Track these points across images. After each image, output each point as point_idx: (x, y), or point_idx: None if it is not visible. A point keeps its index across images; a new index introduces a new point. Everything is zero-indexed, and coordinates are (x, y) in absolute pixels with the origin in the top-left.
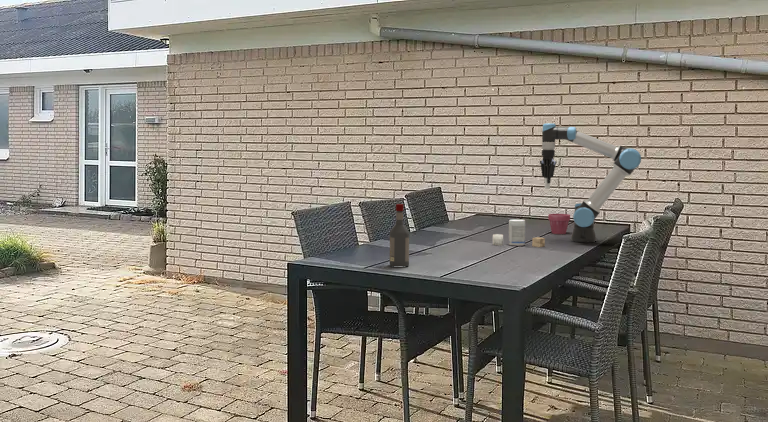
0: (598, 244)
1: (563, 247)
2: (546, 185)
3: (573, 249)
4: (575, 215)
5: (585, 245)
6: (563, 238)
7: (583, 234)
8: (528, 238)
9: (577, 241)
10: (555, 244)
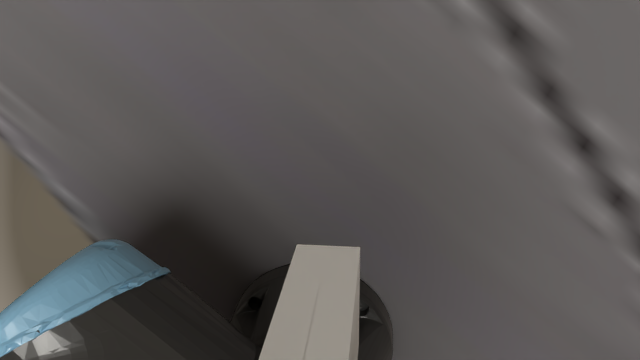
0: None
1: (107, 13)
2: (280, 297)
3: (9, 15)
4: (70, 258)
5: (146, 212)
6: (472, 311)
7: (254, 324)
8: (617, 87)
9: (281, 268)
10: (251, 61)
